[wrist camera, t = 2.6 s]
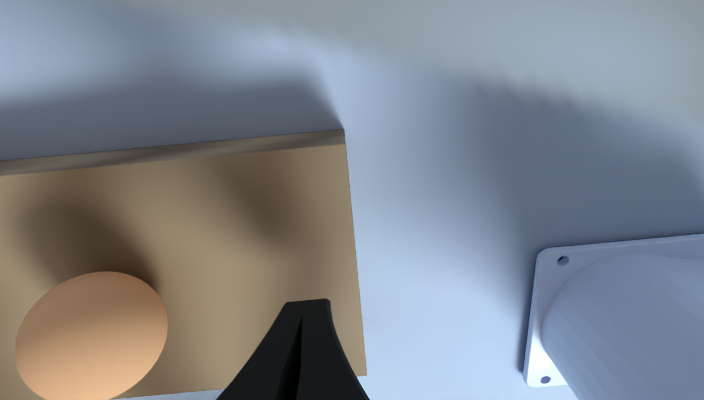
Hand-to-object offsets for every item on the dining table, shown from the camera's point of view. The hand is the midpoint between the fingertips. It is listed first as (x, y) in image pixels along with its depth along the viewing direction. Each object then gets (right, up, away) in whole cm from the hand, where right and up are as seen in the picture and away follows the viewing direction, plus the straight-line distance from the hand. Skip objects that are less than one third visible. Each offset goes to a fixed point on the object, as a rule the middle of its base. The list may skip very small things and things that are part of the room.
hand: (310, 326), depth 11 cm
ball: (-7, 0, +1) cm, 7 cm away
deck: (-11, +1, +5) cm, 12 cm away
